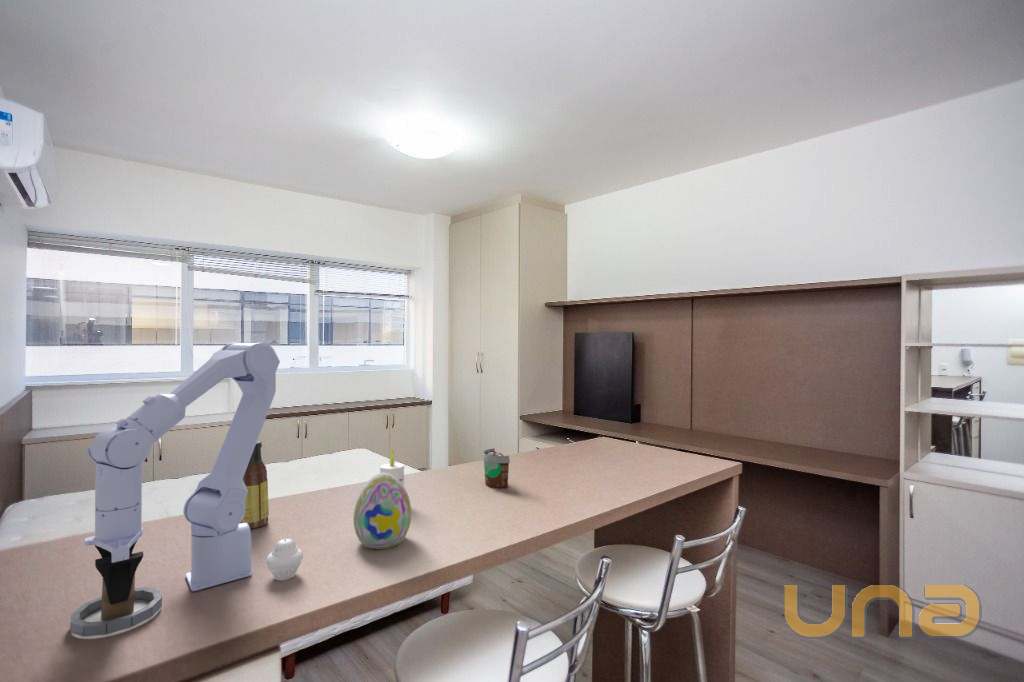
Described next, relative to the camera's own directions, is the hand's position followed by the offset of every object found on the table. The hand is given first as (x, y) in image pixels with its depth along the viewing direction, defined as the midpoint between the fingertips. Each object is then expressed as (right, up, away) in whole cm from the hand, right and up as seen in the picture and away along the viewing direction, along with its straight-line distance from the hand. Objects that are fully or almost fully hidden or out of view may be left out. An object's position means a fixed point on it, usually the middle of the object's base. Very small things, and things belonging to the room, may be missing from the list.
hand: (118, 591), depth 76 cm
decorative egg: (+34, -5, +30) cm, 45 cm away
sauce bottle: (0, -5, +39) cm, 40 cm away
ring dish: (0, -4, 0) cm, 4 cm away
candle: (+30, -5, +54) cm, 62 cm away
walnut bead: (0, -4, 0) cm, 4 cm away
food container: (+56, -5, +73) cm, 92 cm away
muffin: (+20, -5, +14) cm, 25 cm away
